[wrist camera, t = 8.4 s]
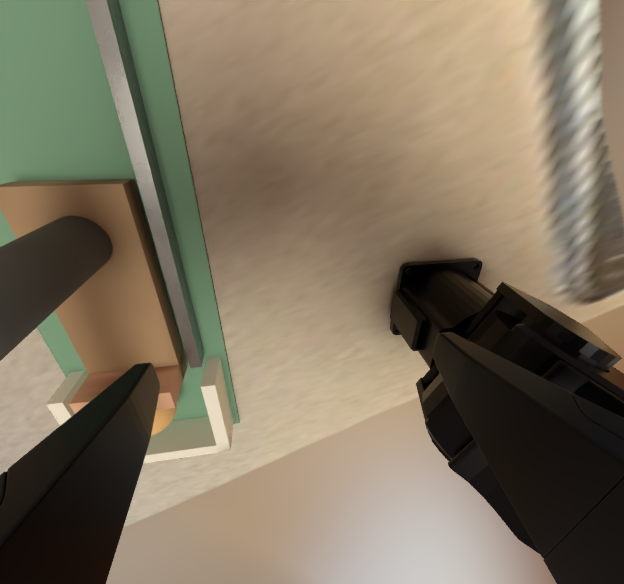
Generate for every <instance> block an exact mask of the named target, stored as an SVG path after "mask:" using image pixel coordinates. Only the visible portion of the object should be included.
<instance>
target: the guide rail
mask: <svg viewBox="0 0 624 584" xmlns="http://www.w3.org/2000/svg"><path fill="white" fill-rule="evenodd" d="M85 1H86V5H87V8H88V12H89V15H90V19H91V22H92V26H93V29H94V33H95V36H96V40H97V43H98V47H99V50H100V54H101V57H102V61H103V64H104V68H105V71H106V75H107V78H108V82H109V85H110V89H111V92H112V96H113V99H114V103H115V106H116V110H117V113H118V117H119V120H120V124H121V127H122V131H123V134H124V138H125V141H126V145H127V148H128V152H129V155H130V159H131V162H132V166H133V169H134V173H135V176H136V180H137V183H138V187H139V190H140V194H141V197H142V201H143V204H144V208H145V211H146V215H147V218H148V222H149V225H150V229H151V232H152V236H153V239H154V243H155V246H156V250H157V253H158V257H159V260H160V264H161V267H162V271H163V274H164V278H165V281H166V285H167V288H168V292H169V295H170V299H171V302H172V306H173V309H174V313H175V316H176V320H177V323H178V327H179V330H180V334H181V337H182V341H183V344H184V348H185V351H186V355H187V358H188V362H189V365H190V368H196V367H202V362H203V358H204V354H205V353H204V349H203V344H202V340H201V336H200V332H199V328H198V324H197V320H196V316H195V312H194V308H193V303H192V299H191V295H190V291H189V287H188V283H187V279H186V275H185V271H184V267H183V262H182V258H181V254H180V250H179V246H178V242H177V238H176V234H175V230H174V225H173V221H172V217H171V213H170V209H169V205H168V201H167V197H166V193H165V189H164V184H163V180H162V176H161V172H160V168H159V164H158V160H157V156H156V152H155V148H154V143H153V139H152V135H151V131H150V127H149V123H148V119H147V115H146V111H145V106H144V102H143V98H142V94H141V90H140V86H139V82H138V78H137V74H136V70H135V65H134V61H133V57H132V53H131V49H130V45H129V41H128V37H127V33H126V29H125V24H124V20H123V16H122V12H121V8H120V4H119V0H85Z"/></svg>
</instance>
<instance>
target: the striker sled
mask: <svg viewBox="0 0 624 584" xmlns="http://www.w3.org/2000/svg"><path fill="white" fill-rule="evenodd" d="M0 209H1V211H2V213H3V215H4V216H5V218H6V220H7V222H8V224H9V226H10V228H11V230H12V231H13V233H14V235H15V237H16V240H13V241H11V242H9V243H7V244H5V245H3V246H1V247H0V360H2V359H3V358H4V357H5V356H6V355H7V354H8V353H9V352H10V351H11V350H13V349H14V348H15V347H16V346H17V345H18V344H19V343H20V342H21V341H22V340H23V339H24V338H25V337H27V336H28V335H29V334H30V333H31V332H32V331H33V330H34V329H35V328H36V327H37V326H38V325H40V324H41V323H42V322H43V321H44V320H45V319H46V318H47V317H48V316H49V315H50V314H51V313H53V312H54V311H55V312H56V314H57V316H58V318H59V320H60V322H61V323H62V325H63V327H64V329H65V331H66V333H67V335H68V337H69V338H70V340H71V342H72V344H73V346H74V348H75V350H76V352H77V353H78V355H79V357H80V359H81V361H82V363H83V365H84V367H85V368H86V370H87V372H88V374H89V375H88V376H87V378H86V379H85V381H84V382H83V384H82V385H81V387H80V388H79V390H78V391H77V393H76V394H75V395H74V397H73V398H72V400H71V401H70V403H69V405H70V407H71V409H72V410H73V412H74V413H77V412H78V411H79V410H80V409H81V408H83V407H84V406H85V405H86V404H88V403H89V402H90V401H91V400H92V399H94V398H95V397H96V396H97V395H99V394H100V393H101V392H102V391H103V390H105V389H106V388H107V387H108V386H109V385H111V384H112V383H113V382H114V381H116V380H117V379H118V378H119V377H120V376H122V375H123V374H124V373H125V372H127V371H128V370H129V369H130V368H131V367H133V366H134V365H135V364H138V363H148V362H149V363H152V364H153V366H154V368H155V371H156V374H157V376H158V379H159V382H160V392H159V397H158V402H157V407H156V410H161V409H169V408H175V407H176V403H177V400H178V397H179V393H180V390H181V386H182V383H183V380H184V376H185V373H186V370H187V366H188V365H187V362H186V358H185V355H184V351H183V348H182V344H181V341H180V337H179V334H178V331H177V327H176V324H175V320H174V317H173V313H172V310H171V306H170V303H169V300H168V296H167V293H166V289H165V286H164V282H163V279H162V275H161V272H160V269H159V265H158V262H157V258H156V255H155V251H154V248H153V244H152V241H151V238H150V234H149V231H148V227H147V224H146V220H145V217H144V213H143V210H142V207H141V203H140V200H139V196H138V193H137V189H136V186H135V182H134V179H107V180H65V181H24V182H9V183H5V184H1V185H0Z"/></svg>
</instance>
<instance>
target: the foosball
mask: <svg viewBox="0 0 624 584" xmlns="http://www.w3.org/2000/svg"><path fill="white" fill-rule="evenodd" d="M176 411H177V403H176V407H175V408H169V409H161V410H156V413H155V418H154V423H153V428H152V433H151V436H152V435H155V434H157V433H159V432H161V431H163V430H164V429H165V428H166V427H167V426H168V425H169V424H170V423H171V422H172V420H173V418H174V417H175V414H176Z"/></svg>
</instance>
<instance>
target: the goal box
mask: <svg viewBox="0 0 624 584" xmlns="http://www.w3.org/2000/svg"><path fill="white" fill-rule="evenodd" d="M87 376H88V375H87V373H86V371H85V370H84V371H74V372H70V373H69V375H68V376H67V377H66V379H65V380H64V381H63V383H62V384H61V385H60V387H59V388H58V389H57V391H56V392H55V393H54V395H53V396H52V397H51V399H50V400H49V401H48V403H47V404H46V405H47V407H48V408H49V410H50V411H51V413H52V414H53V415H54V417H55V418H56V420H57V421H58V423H59V424H60V426H61V425H62V424H63V423H64V422H66V421H67V420H68V419H69V418H71V417H72V416H73V415H74V414H75V413H74V412H73V410H72V409H71V407H70V405H69V403H70V401H71V400H72V398H73V397H74V395H75V394H76V393H77V391H78V390H79V388H80V387H81V385H82V384H83V382H84V381H85V379H86V378H87ZM201 390H202V394H203V397H204V401H205V405H206V408H207V412H208V416H207V417H199V418H191V419H184V420H176V421H172V422H171V423H170V424H169V425H168V426H167V427H166V428H165V429H164V430H163V431H161V432H159V433H157V434H155V435H152V436H151V438H150V442H149V445H148V449H147V452H146V455H145V459H144V462H143V463H149V462H156V461H163V460H170V459H177V458H184V457H191V456H198V455H205V454H212V453H219V452H226V451H231V441H232V430H233V416H232V412H231V407H230V402H229V397H228V393H227V388H226V383H225V378H224V374H223V369H222V364H221V359H220V357H211V358H207V361H206V365H205V370H204V374H203V379H202V383H201Z"/></svg>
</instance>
